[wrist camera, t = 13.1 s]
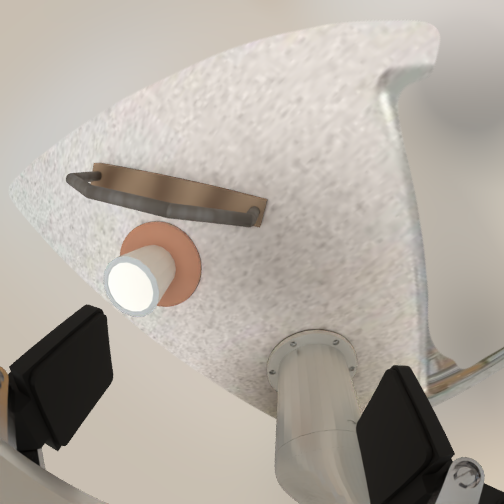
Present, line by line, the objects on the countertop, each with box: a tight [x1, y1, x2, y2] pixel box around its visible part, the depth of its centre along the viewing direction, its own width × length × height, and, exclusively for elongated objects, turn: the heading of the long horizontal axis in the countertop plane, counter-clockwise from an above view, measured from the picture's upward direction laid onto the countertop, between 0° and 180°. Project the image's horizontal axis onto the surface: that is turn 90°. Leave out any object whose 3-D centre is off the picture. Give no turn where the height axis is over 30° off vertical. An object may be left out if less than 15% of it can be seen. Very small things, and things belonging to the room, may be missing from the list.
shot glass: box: [103, 245, 176, 317], centre depth 31 cm, size 7×7×7 cm
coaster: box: [120, 221, 201, 307], centre depth 35 cm, size 11×11×1 cm
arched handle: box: [66, 163, 267, 227], centre depth 27 cm, size 22×3×12 cm, turn 76°
